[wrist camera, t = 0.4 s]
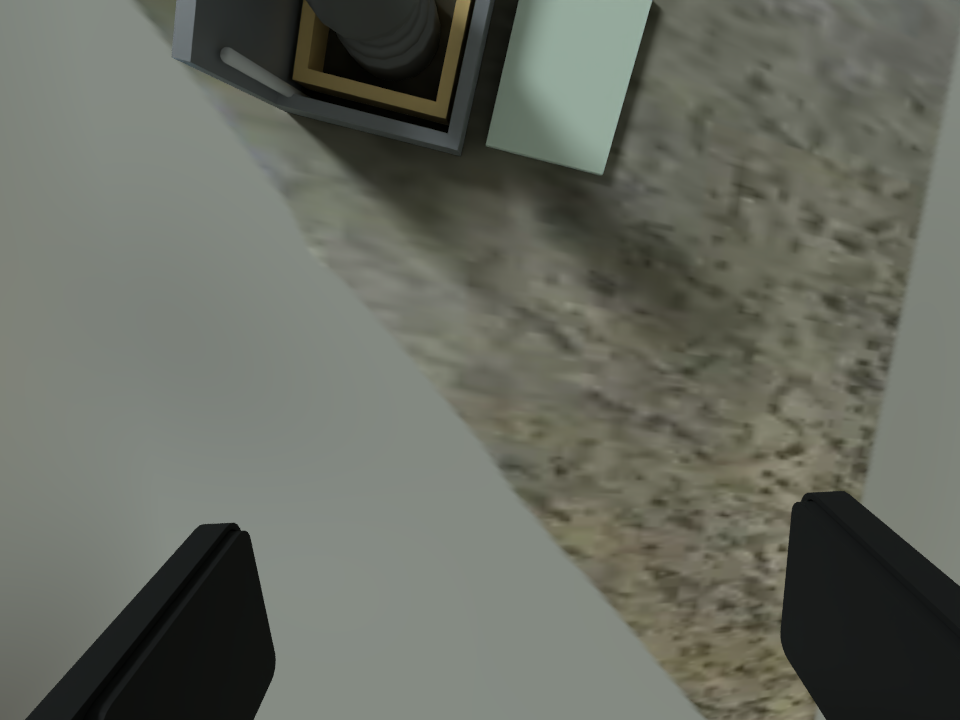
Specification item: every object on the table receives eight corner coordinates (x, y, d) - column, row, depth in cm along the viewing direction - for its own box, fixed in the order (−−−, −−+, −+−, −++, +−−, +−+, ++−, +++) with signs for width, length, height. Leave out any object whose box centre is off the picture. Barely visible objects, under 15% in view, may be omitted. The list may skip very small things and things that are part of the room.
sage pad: (527, -36, 35) (528, -43, 34) (650, -3, 35) (654, -9, 34) (485, 146, 38) (485, 144, 37) (599, 175, 38) (602, 174, 37)
